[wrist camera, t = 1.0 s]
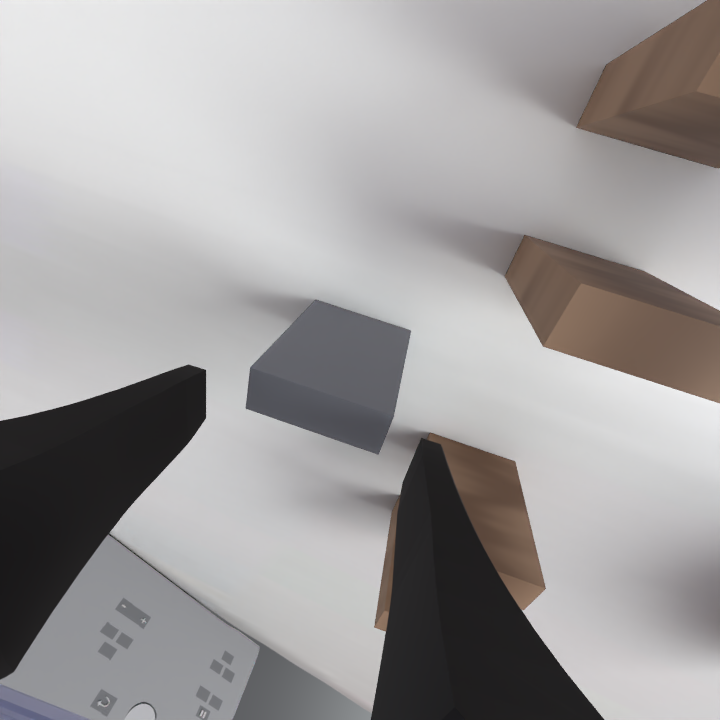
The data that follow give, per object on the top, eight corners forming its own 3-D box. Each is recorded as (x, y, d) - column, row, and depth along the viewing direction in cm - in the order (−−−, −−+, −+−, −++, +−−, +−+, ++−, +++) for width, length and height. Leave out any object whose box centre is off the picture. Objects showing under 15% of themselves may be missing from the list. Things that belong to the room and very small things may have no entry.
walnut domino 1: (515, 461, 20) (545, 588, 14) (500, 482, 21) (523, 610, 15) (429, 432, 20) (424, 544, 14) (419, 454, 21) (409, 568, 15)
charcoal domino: (410, 330, 18) (393, 416, 12) (400, 360, 18) (378, 454, 12) (315, 299, 18) (250, 367, 12) (309, 330, 19) (245, 408, 13)
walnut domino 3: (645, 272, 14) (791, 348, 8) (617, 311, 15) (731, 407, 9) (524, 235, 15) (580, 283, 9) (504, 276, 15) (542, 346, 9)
